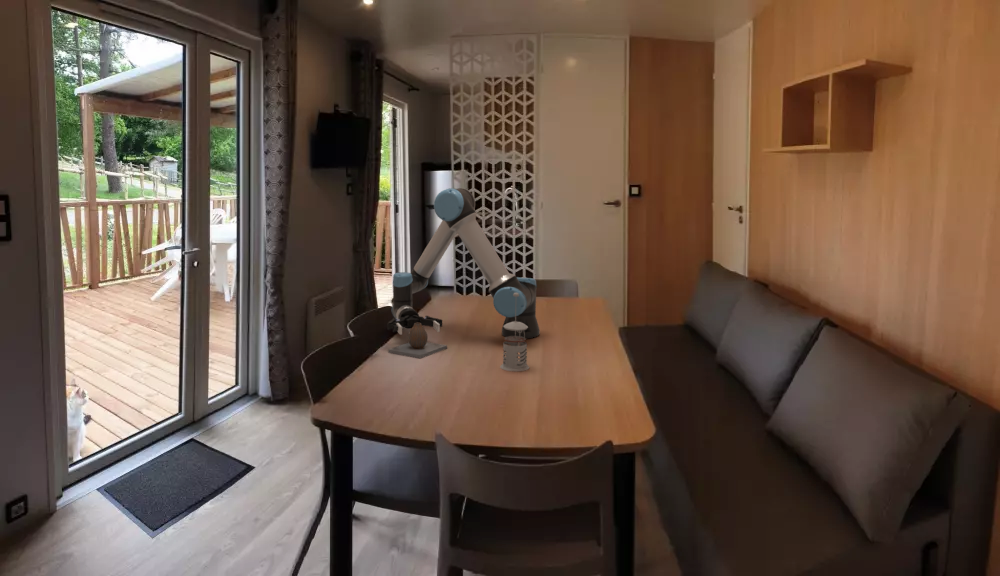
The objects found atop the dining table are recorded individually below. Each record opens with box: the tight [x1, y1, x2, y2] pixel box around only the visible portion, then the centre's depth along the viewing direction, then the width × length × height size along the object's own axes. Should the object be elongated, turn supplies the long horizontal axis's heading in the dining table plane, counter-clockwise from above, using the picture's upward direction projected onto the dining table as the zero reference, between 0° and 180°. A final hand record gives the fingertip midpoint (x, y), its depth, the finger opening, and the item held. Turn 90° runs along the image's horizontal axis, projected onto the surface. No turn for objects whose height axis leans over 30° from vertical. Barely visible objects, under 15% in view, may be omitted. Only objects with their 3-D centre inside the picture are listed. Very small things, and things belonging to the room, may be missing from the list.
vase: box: [407, 323, 428, 349], centre depth 231 cm, size 7×7×9 cm
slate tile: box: [388, 341, 448, 359], centre depth 231 cm, size 14×16×1 cm
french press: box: [499, 293, 530, 372], centre depth 212 cm, size 10×12×25 cm
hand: (420, 329), depth 227 cm, fingers open, 13 cm apart
